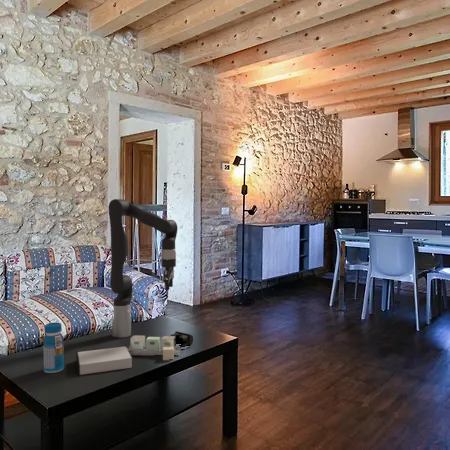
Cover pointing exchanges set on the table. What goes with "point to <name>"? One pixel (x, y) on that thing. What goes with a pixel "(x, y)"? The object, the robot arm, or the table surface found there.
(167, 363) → the table surface
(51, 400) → the table surface
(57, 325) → the beverage bottle
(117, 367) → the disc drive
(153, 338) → the module
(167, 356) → the block
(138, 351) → the rail
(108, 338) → the table surface
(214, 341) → the table surface
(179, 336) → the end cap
